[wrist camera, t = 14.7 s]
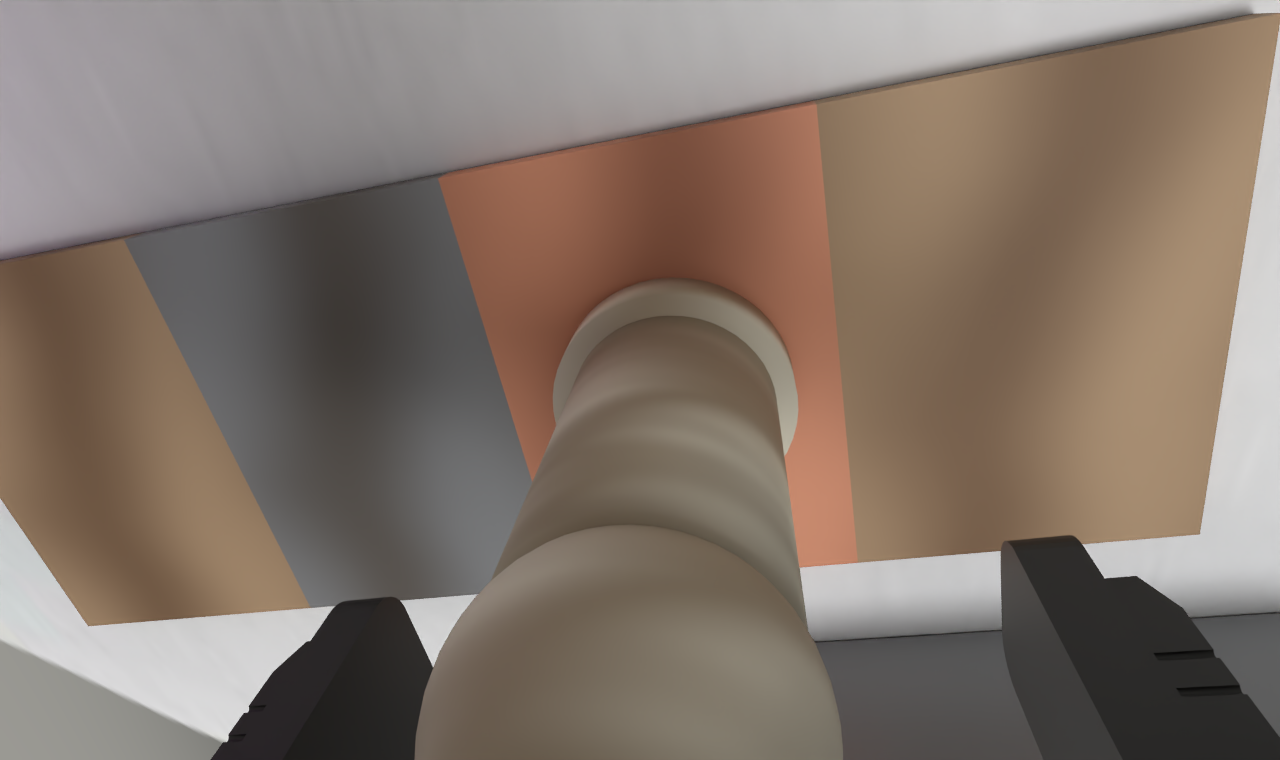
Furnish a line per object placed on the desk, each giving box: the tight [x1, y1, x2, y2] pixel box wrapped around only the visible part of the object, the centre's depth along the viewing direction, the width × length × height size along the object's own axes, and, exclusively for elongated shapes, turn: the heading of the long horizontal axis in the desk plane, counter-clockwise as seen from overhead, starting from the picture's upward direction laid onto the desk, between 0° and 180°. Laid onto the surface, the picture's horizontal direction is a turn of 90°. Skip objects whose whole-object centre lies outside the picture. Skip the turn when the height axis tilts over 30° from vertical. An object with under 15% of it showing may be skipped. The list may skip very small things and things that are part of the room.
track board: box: [0, 13, 1280, 626], centre depth 16 cm, size 28×10×1 cm, turn 101°
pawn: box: [415, 278, 843, 760], centre depth 10 cm, size 5×5×10 cm
